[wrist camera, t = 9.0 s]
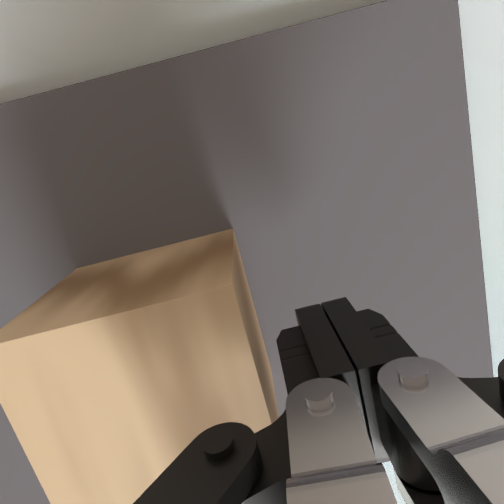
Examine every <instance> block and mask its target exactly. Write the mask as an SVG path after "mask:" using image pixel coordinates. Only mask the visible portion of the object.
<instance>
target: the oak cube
mask: <svg viewBox="0 0 504 504" xmlns="http://www.w3.org/2000/svg"><path fill="white" fill-rule="evenodd" d="M0 404H1V406H2V408H3V410H4V412H5V414H6V416H7V418H8V420H9V422H10V424H11V426H12V428H13V430H14V432H15V434H16V436H17V438H18V440H19V442H20V444H21V446H22V448H23V450H24V452H25V454H26V456H27V458H28V460H29V462H30V464H31V466H32V468H33V470H34V472H35V474H36V476H37V478H38V480H39V482H40V484H41V486H42V488H43V490H44V492H45V494H46V496H47V498H48V500H49V502H50V504H133V503H134V502H135V501H136V500H137V499H138V498H139V497H140V496H141V495H142V494H143V492H144V491H145V490H146V489H147V488H148V487H149V486H150V485H151V484H152V483H153V482H154V481H155V480H156V479H157V478H158V477H159V476H160V474H161V473H162V472H163V471H164V470H165V469H166V468H167V467H168V466H169V465H170V464H171V463H172V462H173V461H174V460H175V459H176V458H177V456H178V455H179V454H180V453H181V452H182V451H183V450H184V449H185V448H186V447H187V446H188V445H189V444H190V443H191V442H192V441H193V440H194V439H195V438H196V437H197V436H198V435H199V434H200V433H202V432H203V431H205V430H206V429H208V428H210V427H212V426H214V425H217V424H221V423H226V422H238V423H242V424H244V425H247V426H248V427H250V428H251V429H252V431H253V432H254V433H256V432H258V431H260V430H261V429H263V428H265V427H267V426H269V425H271V424H272V423H273V422H275V421H276V420H277V419H278V418H279V415H278V408H277V402H276V396H275V390H274V384H273V378H272V372H271V366H270V363H269V359H268V355H267V352H266V348H265V344H264V341H263V337H262V333H261V329H260V326H259V322H258V318H257V315H256V311H255V307H254V304H253V300H252V296H251V293H250V289H249V285H248V281H247V278H246V274H245V270H244V267H243V263H242V259H241V256H240V252H239V248H238V245H237V241H236V237H235V233H234V230H233V229H229V230H225V231H221V232H217V233H213V234H209V235H205V236H202V237H198V238H194V239H190V240H186V241H182V242H178V243H174V244H170V245H166V246H163V247H159V248H155V249H151V250H147V251H143V252H139V253H135V254H131V255H127V256H124V257H120V258H116V259H112V260H108V261H104V262H100V263H96V264H92V265H88V266H85V267H81V268H77V269H76V270H74V271H73V272H72V273H70V274H69V275H68V276H67V277H65V278H64V279H63V280H62V281H60V282H59V283H58V284H57V285H55V286H54V287H53V288H51V289H50V290H49V291H48V292H46V293H45V294H44V295H43V296H41V297H40V298H39V299H38V300H36V301H35V302H34V303H32V304H31V305H30V306H29V307H27V308H26V309H25V310H24V311H22V312H21V313H20V314H19V315H17V316H16V317H15V318H13V319H12V320H11V321H10V322H8V323H7V324H6V325H5V326H3V327H2V328H1V329H0Z"/></svg>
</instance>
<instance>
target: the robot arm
mask: <svg viewBox="0 0 504 504" xmlns="http://www.w3.org/2000/svg"><path fill="white" fill-rule="evenodd" d="M295 314H296V318H297V323H298V326H296V327H291V328H287V329H283V330H281V332H280V334H279V336H278V338H277V340H276V342H277V347H278V351H279V356H280V361H281V365H282V370H283V375H284V380H285V384H286V389H287V394H288V396H287V399H286V409H285V411H284V412H283V414H282V415H281V416H280V417H279V418H278V419H277V420H276V421H275V422H273V423H272V424H271V425H269V426H267V427H265V428H263V429H261V430H260V431H258V432H256V433H254V432H253V431H252V429H251V428H250V427H248V426H247V425H244V424H242V423H238V422H226V423H221V424H217V425H214V426H212V427H210V428H208V429H206V430H205V431H203V432H202V433H200V434H199V435H198V436H197V437H196V438H195V439H194V440H193V441H192V442H191V443H190V444H189V445H188V446H187V447H186V448H185V449H184V450H183V451H182V452H181V453H180V454H179V455H178V456H177V458H176V459H175V460H174V461H173V462H172V463H171V464H170V465H169V466H168V467H167V468H166V469H165V470H164V471H163V472H162V473H161V474H160V476H159V477H158V478H157V479H156V480H155V481H154V482H153V483H152V484H151V485H150V486H149V487H148V488H147V489H146V490H145V491H144V492H143V494H142V495H141V496H140V497H139V498H138V499H137V500H136V501H135V502H134V503H133V504H397V501H396V499H395V496H394V493H393V490H392V488H391V485H390V482H389V479H388V477H387V474H386V471H385V469H384V467H383V465H382V463H377V460H378V459H382V458H387V457H389V459H390V461H391V463H392V465H393V467H394V472H395V478H396V483H397V487H398V490H399V492H400V494H401V496H402V497H403V499H404V501H405V503H406V504H504V359H503V360H502V361H501V362H500V364H499V366H498V377H492V378H461V377H456V376H455V375H454V374H453V373H452V372H451V371H450V370H448V369H447V368H446V367H445V366H444V365H442V364H441V363H439V362H437V361H435V360H432V359H428V358H423V357H419V356H418V355H417V354H416V353H415V352H414V350H413V349H412V348H411V347H410V346H409V345H408V343H407V342H406V341H405V340H404V339H403V338H402V337H401V335H400V334H399V333H397V331H396V330H395V328H394V327H393V326H392V325H390V323H389V322H388V320H387V319H386V318H385V317H384V316H383V315H382V314H380V313H378V312H375V311H373V310H371V309H365V310H361V311H356V310H355V309H354V307H353V306H352V305H351V303H350V302H349V301H348V299H347V298H346V297H343V298H339V299H335V300H331V301H327V302H322V303H321V306H320V304H315V305H311V306H307V307H302V308H298V309H295Z"/></svg>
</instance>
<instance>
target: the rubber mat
mask: <svg viewBox="0 0 504 504" xmlns="http://www.w3.org/2000/svg"><path fill="white" fill-rule="evenodd" d="M229 229H233V230H234V233H235V237H236V241H237V245H238V248H239V252H240V256H241V259H242V263H243V267H244V270H245V274H246V278H247V281H248V285H249V289H250V293H251V296H252V300H253V304H254V307H255V311H256V315H257V318H258V322H259V326H260V329H261V333H262V337H263V341H264V344H265V348H266V352H267V355H268V359H269V363H270V366H271V372H272V378H273V384H274V390H275V396H276V402H277V408H278V415H279V417H280V416H281V415H282V414H283V412H284V411H285V409H286V399H287V396H288V394H287V389H286V384H285V380H284V375H283V370H282V365H281V361H280V356H279V351H278V347H277V342H276V340H277V338H278V336H279V334H280V332H281V330H283V329H287V328H291V327H296V326H298V323H297V318H296V314H295V309H298V308H302V307H307V306H311V305H315V304H320V306H321V303H322V302H327V301H331V300H335V299H339V298H343V297H346V298H347V299H348V301H349V302H350V303H351V305H352V306H353V307H354V309H355V310H356V311H361V310H365V309H371V310H373V311H375V312H378V313H380V314H382V315H383V316H384V317H385V318H386V319H387V320H388V322H389V323H390V325H392V326H393V327H394V328H395V330H396V331H397V333H399V334H400V335H401V337H402V338H403V339H404V340H405V341H406V342H407V343H408V345H409V346H410V347H411V348H412V349H413V350H414V352H415V353H416V354H417V355H418V356H419V357H423V358H428V359H432V360H435V361H437V362H439V363H441V364H442V365H444V366H445V367H446V368H447V369H448V370H450V371H451V372H452V373H453V374H454V375H455V376H456V377H461V378H492V377H493V367H492V357H491V346H490V335H489V325H488V314H487V304H486V293H485V283H484V272H483V261H482V251H481V240H480V230H479V219H478V209H477V198H476V187H475V177H474V166H473V156H472V145H471V135H470V124H469V113H468V103H467V92H466V82H465V71H464V61H463V50H462V39H461V29H460V18H459V8H458V0H387V1H383V2H380V3H376V4H372V5H368V6H365V7H361V8H357V9H353V10H350V11H346V12H342V13H339V14H335V15H331V16H327V17H324V18H320V19H316V20H312V21H309V22H305V23H301V24H298V25H294V26H290V27H286V28H283V29H279V30H275V31H271V32H268V33H264V34H260V35H257V36H253V37H249V38H245V39H242V40H238V41H234V42H230V43H227V44H223V45H219V46H216V47H212V48H208V49H204V50H201V51H197V52H193V53H189V54H186V55H182V56H178V57H174V58H171V59H167V60H163V61H160V62H156V63H152V64H148V65H145V66H141V67H137V68H133V69H130V70H126V71H122V72H119V73H115V74H111V75H107V76H104V77H100V78H96V79H92V80H89V81H85V82H81V83H78V84H74V85H70V86H66V87H63V88H59V89H55V90H51V91H48V92H44V93H40V94H37V95H33V96H29V97H25V98H22V99H18V100H14V101H10V102H7V103H3V104H0V329H1V328H2V327H3V326H5V325H6V324H7V323H8V322H10V321H11V320H12V319H13V318H15V317H16V316H17V315H19V314H20V313H21V312H22V311H24V310H25V309H26V308H27V307H29V306H30V305H31V304H32V303H34V302H35V301H36V300H38V299H39V298H40V297H41V296H43V295H44V294H45V293H46V292H48V291H49V290H50V289H51V288H53V287H54V286H55V285H57V284H58V283H59V282H60V281H62V280H63V279H64V278H65V277H67V276H68V275H69V274H70V273H72V272H73V271H74V270H76V269H77V268H81V267H85V266H88V265H92V264H96V263H100V262H104V261H108V260H112V259H116V258H120V257H124V256H127V255H131V254H135V253H139V252H143V251H147V250H151V249H155V248H159V247H163V246H166V245H170V244H174V243H178V242H182V241H186V240H190V239H194V238H198V237H202V236H205V235H209V234H213V233H217V232H221V231H225V230H229ZM387 461H390V459H389V457H387V458H382V459H378V460H377V463H383V462H387ZM0 504H50V502H49V500H48V498H47V496H46V494H45V492H44V490H43V488H42V486H41V484H40V482H39V480H38V478H37V476H36V474H35V472H34V470H33V468H32V466H31V464H30V462H29V460H28V458H27V456H26V454H25V452H24V450H23V448H22V446H21V444H20V442H19V440H18V438H17V436H16V434H15V432H14V430H13V428H12V426H11V424H10V422H9V420H8V418H7V416H6V414H5V412H4V410H3V408H2V406H1V404H0Z"/></svg>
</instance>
